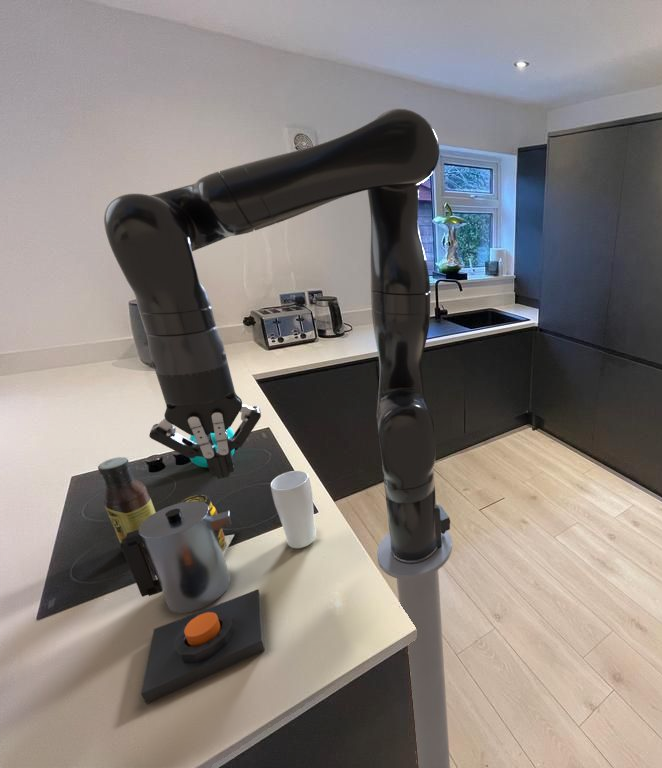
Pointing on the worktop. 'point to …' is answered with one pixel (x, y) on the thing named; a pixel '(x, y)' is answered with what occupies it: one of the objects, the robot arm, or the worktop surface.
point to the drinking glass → (295, 507)
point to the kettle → (180, 555)
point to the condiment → (204, 498)
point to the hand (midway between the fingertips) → (223, 475)
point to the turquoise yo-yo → (202, 461)
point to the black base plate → (203, 647)
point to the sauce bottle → (124, 497)
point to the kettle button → (202, 629)
